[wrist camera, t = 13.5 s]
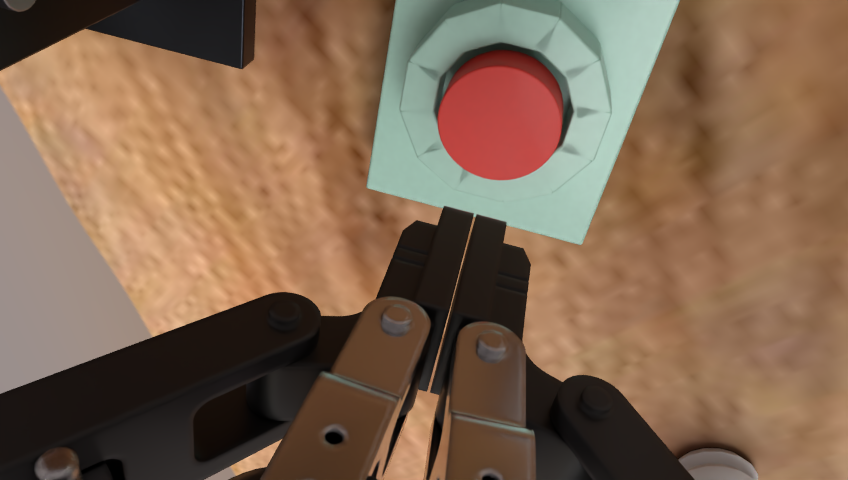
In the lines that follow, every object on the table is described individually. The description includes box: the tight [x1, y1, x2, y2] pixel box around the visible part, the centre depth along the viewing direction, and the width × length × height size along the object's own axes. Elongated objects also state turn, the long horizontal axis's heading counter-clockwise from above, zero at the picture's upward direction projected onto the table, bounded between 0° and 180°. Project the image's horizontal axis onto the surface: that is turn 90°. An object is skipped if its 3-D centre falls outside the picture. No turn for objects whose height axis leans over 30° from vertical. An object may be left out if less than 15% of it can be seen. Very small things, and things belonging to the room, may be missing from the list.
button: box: [438, 50, 563, 180], centre depth 22 cm, size 4×4×2 cm
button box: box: [367, 0, 680, 245], centre depth 25 cm, size 11×9×4 cm
